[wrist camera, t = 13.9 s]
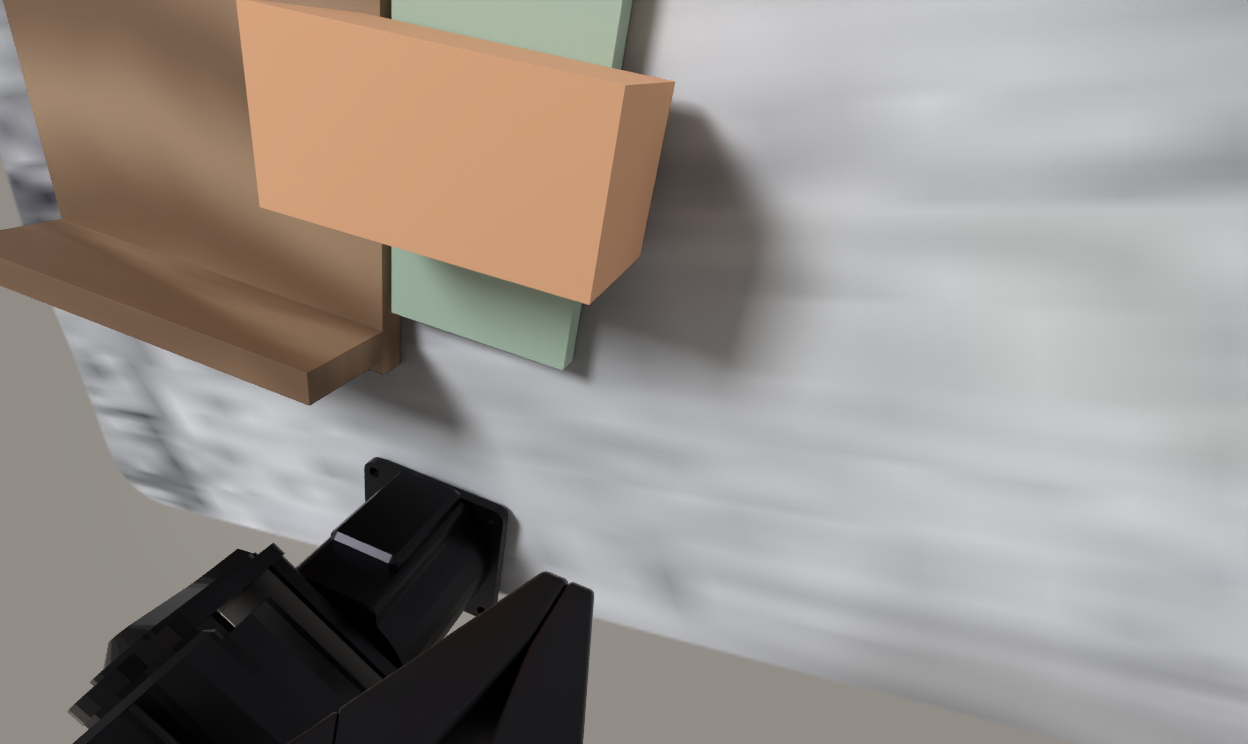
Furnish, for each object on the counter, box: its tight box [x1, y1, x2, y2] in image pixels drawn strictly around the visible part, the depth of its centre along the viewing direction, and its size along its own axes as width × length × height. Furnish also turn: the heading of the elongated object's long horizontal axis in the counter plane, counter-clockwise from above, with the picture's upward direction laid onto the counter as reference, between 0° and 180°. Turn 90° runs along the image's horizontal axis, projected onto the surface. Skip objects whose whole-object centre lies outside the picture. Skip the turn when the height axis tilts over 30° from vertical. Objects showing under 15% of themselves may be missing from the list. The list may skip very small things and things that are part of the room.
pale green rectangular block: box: [392, 0, 633, 370], centre depth 18 cm, size 13×1×6 cm
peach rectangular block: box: [236, 0, 675, 305], centre depth 15 cm, size 5×9×4 cm, turn 79°
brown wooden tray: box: [0, 0, 400, 406], centre depth 18 cm, size 18×15×4 cm
